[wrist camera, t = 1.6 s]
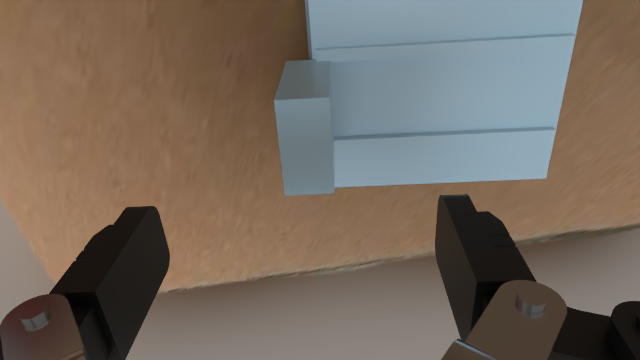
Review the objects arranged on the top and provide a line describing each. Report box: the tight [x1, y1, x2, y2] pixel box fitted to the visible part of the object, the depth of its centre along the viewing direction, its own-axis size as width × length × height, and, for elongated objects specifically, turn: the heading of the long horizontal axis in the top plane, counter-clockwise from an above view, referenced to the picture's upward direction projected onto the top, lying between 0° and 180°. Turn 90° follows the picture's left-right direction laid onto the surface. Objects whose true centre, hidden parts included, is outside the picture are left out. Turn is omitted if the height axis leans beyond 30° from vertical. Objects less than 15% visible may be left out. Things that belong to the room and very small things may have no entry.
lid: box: [274, 0, 583, 196], centre depth 20 cm, size 10×13×6 cm
